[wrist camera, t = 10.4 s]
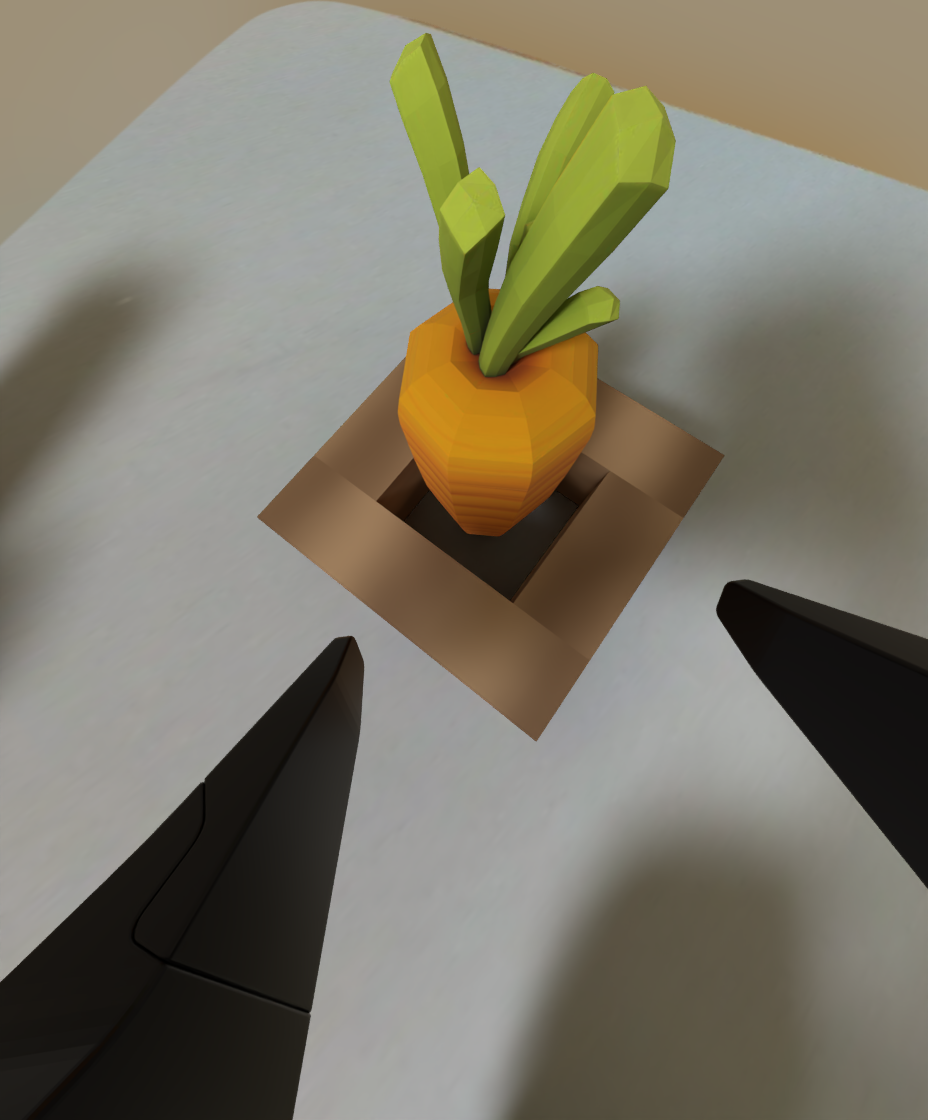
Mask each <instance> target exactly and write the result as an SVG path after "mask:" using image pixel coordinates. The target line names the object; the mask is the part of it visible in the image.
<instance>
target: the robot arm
mask: <svg viewBox="0 0 928 1120" xmlns="http://www.w3.org/2000/svg"><path fill="white" fill-rule="evenodd" d="M716 612H717V616H718V618H719V619H720V621H721V622H722V624H723V626H724V627H725V629H726V630H727V632H728V633H729V635H730V636H731V638H732V639H733V641H734V642H735V644H736V645H737V647H738V648H739V650H740V651H741V653H742V654H743V656H744V657H745V659H746V660H747V662H748V663H749V665H750V666H751V668H752V669H753V671H754V672H755V673H756V675H757V676H758V677H759V679H760V680H761V681H762V683H763V684H764V685H765V686H766V688H767V689H768V690H769V691H770V693H771V694H772V695H773V696H774V698H775V699H776V700H777V701H778V703H779V704H780V705H781V706H782V708H783V709H784V710H785V711H786V713H787V714H788V715H789V716H790V717H791V719H792V720H793V721H794V722H795V724H796V725H797V726H798V727H799V729H800V730H801V731H802V732H803V734H804V735H805V736H806V737H807V739H808V740H809V741H810V742H811V744H812V745H813V746H814V747H815V749H816V750H817V751H818V752H819V754H820V755H821V756H822V757H823V759H824V760H825V761H826V762H827V764H828V765H829V766H830V767H831V769H832V770H833V771H834V772H835V774H836V775H837V776H838V777H839V779H840V780H841V781H842V782H843V784H844V785H845V786H846V787H847V789H848V790H849V791H850V792H851V794H852V795H853V796H854V797H855V799H856V800H857V801H858V802H859V804H860V805H861V806H862V807H863V809H864V810H865V811H866V812H867V814H868V815H869V816H870V817H871V819H872V820H873V821H874V822H875V824H876V825H877V826H878V827H879V829H880V830H881V831H882V832H883V834H884V835H885V836H886V837H887V839H888V840H889V841H890V842H891V844H892V845H893V846H894V847H895V849H896V850H897V851H898V852H899V854H900V855H901V856H902V857H903V859H904V860H905V861H906V862H907V863H908V865H909V866H910V867H911V868H912V870H913V871H914V872H915V873H916V875H917V876H918V877H919V878H920V880H921V881H922V882H923V883H924V885H925V886H926V887H927V888H928V639H926V638H923V637H920V636H917V635H914V634H911V633H908V632H905V631H902V630H899V629H896V628H893V627H890V626H887V625H884V624H881V623H878V622H875V621H872V620H869V619H866V618H863V617H860V616H857V615H854V614H850V613H847V612H844V611H841V610H838V609H835V608H832V607H829V606H826V605H823V604H820V603H817V602H814V601H811V600H808V599H805V598H802V597H799V596H796V595H793V594H790V593H787V592H784V591H781V590H778V589H775V588H772V587H769V586H766V585H763V584H760V583H757V582H754V581H751V580H746V579H744V580H736V581H730V582H728V583H727V584H726V585H725V586H724V589H723V591H722V594H721V597H720V599H719V602H718V604H717V607H716ZM363 680H364V661H363V658H362V655H361V653H360V650H359V647H358V645H357V642H356V640H355V638H354V637H353V636H345V637H338V638H335V639H334V640H333V641H332V642H331V643H330V644H329V645H328V646H327V647H326V648H325V649H324V650H323V651H322V653H321V654H320V655H319V656H318V657H317V658H316V659H315V660H314V661H313V662H312V663H311V664H310V665H309V667H308V668H307V669H306V670H305V671H304V672H303V673H302V674H301V675H300V676H299V677H298V678H297V680H296V681H295V682H294V683H293V684H292V685H291V686H290V687H289V688H288V689H287V690H286V691H285V692H284V694H283V695H282V696H281V697H280V698H279V699H278V700H277V701H276V702H275V703H274V704H273V705H272V706H271V708H270V709H269V710H268V711H267V712H266V713H265V714H264V715H263V716H262V717H261V718H260V719H259V720H258V722H257V723H256V724H255V725H254V726H253V727H252V728H251V729H250V730H249V731H248V732H247V733H246V735H245V736H244V737H243V738H242V739H241V740H240V741H239V742H238V743H237V744H236V745H235V746H234V747H233V749H232V750H231V751H230V752H229V753H228V754H227V755H226V756H225V757H224V758H223V759H222V760H221V761H220V763H219V764H218V765H217V766H216V767H215V768H214V769H213V770H212V771H211V772H210V773H209V774H208V776H207V777H206V778H205V781H204V782H202V783H200V784H199V785H198V786H197V787H196V788H195V789H194V790H193V791H192V793H191V794H190V795H189V796H188V797H187V798H186V799H185V800H184V801H183V802H182V803H181V804H180V805H179V806H178V808H177V809H176V810H175V811H174V812H173V813H172V814H171V815H170V816H169V817H168V818H167V819H166V820H165V821H164V822H163V823H162V824H161V825H160V826H159V827H158V828H157V830H156V831H155V832H154V833H153V834H152V835H151V836H150V837H149V838H148V839H147V840H146V841H145V842H144V843H143V844H142V845H141V846H140V847H139V848H138V849H137V850H136V851H135V852H134V853H133V854H132V855H131V856H130V857H129V858H128V859H127V860H126V861H125V862H124V863H123V864H122V865H121V866H120V867H119V868H118V869H117V870H116V871H115V872H114V873H113V874H112V875H111V876H110V877H109V878H108V879H107V880H106V881H104V882H103V883H102V884H101V885H100V886H99V887H98V888H97V889H96V890H95V891H94V892H93V893H92V894H91V895H90V896H89V897H88V898H87V899H86V900H85V901H84V902H83V903H82V904H81V905H80V906H79V907H78V908H77V909H76V910H75V911H73V912H72V913H71V914H70V915H69V916H68V917H67V918H66V919H65V920H64V921H63V922H62V923H61V924H60V925H59V926H58V927H57V928H56V929H55V930H54V931H53V932H52V933H51V934H50V935H49V936H48V937H47V938H46V939H45V940H44V941H42V942H41V943H40V944H39V945H38V946H37V947H36V948H35V949H34V950H33V951H32V952H31V953H30V954H29V955H28V956H27V957H26V958H25V959H24V960H23V961H22V962H21V963H20V964H19V965H18V966H17V967H16V968H15V969H14V970H13V971H11V972H10V973H9V974H8V975H7V976H6V977H5V978H4V979H3V980H2V981H1V982H0V1120H293V1114H294V1109H295V1103H296V1097H297V1091H298V1086H299V1080H300V1074H301V1069H302V1063H303V1057H304V1051H305V1046H306V1040H307V1034H308V1029H309V1023H310V1017H311V1015H310V1012H311V1009H312V1004H313V999H314V993H315V987H316V981H317V976H318V970H319V964H320V959H321V953H322V947H323V942H324V936H325V930H326V924H327V919H328V913H329V907H330V902H331V896H332V890H333V885H334V879H335V873H336V867H337V862H338V856H339V850H340V845H341V839H342V833H343V827H344V822H345V816H346V810H347V805H348V799H349V793H350V788H351V782H352V776H353V770H354V765H355V759H356V753H357V748H358V742H359V735H360V726H361V712H362V696H363Z"/></svg>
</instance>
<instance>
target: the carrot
mask: <svg viewBox="0 0 928 1120" xmlns="http://www.w3.org/2000/svg"><path fill="white" fill-rule="evenodd" d="M390 85H391V88H392V91H393V94H394V97H395V100H396V103H397V106H398V109H399V112H400V115H401V118H402V121H403V123H404V126H405V129H406V131H407V134H408V137H409V139H410V142H411V145H412V148H413V150H414V153H415V156H416V158H417V161H418V164H419V166H420V169H421V172H422V174H423V177H424V181H425V184H426V187H427V190H428V193H429V196H430V200H431V203H432V206H433V209H434V212H435V216H436V219H437V222H438V225H439V246H440V255H441V264H442V271H443V274H444V277H445V280H446V283H447V286H448V289H449V292H450V294H451V297H452V300H453V303H451V304H450V305H448V306H447V307H445V308H444V309H443V310H441V311H440V312H438V313H437V314H435V315H434V316H432V317H431V318H429V319H428V320H426V321H425V322H424V323H422V324H421V325H419V326H418V327H417V328H415V329H414V330H413V331H411V332H410V337H409V343H408V349H407V355H406V361H405V366H404V372H403V378H402V384H401V390H400V396H399V404H398V417H399V422H400V425H401V427H402V430H403V432H404V435H405V437H406V440H407V442H408V445H409V447H410V450H411V452H412V455H413V457H414V460H415V462H416V464H417V466H418V468H419V470H420V472H421V474H422V477H423V479H424V481H425V483H426V485H427V487H428V488H429V489H430V490H431V492H432V493H433V494H434V495H435V497H436V498H437V499H438V500H439V502H440V503H441V504H442V505H443V506H444V508H445V509H446V510H447V511H448V512H449V513H450V515H451V516H452V517H453V518H454V519H455V521H456V522H457V523H458V524H459V525H460V527H461V528H462V529H463V530H464V531H465V532H466V533H467V534H476V535H487V536H497V537H499V536H501V535H503V534H504V533H506V532H507V531H508V530H509V529H511V528H512V527H513V526H514V525H516V524H517V523H518V522H519V521H521V520H522V519H523V518H524V517H526V516H527V515H528V514H530V513H531V512H532V511H533V510H535V509H536V508H537V507H538V506H539V505H540V504H542V503H543V502H544V501H545V500H546V499H548V498H549V497H550V496H551V494H552V493H553V492H554V490H555V489H556V488H557V486H558V485H559V484H560V482H561V481H562V480H563V478H564V477H565V476H566V474H567V473H568V471H569V470H570V468H571V467H572V465H573V464H574V462H575V461H576V459H577V458H578V456H579V455H580V453H581V452H582V450H583V449H584V447H585V446H586V444H587V443H588V441H589V440H590V438H591V435H592V433H593V430H594V427H595V418H596V393H597V364H598V344H597V343H596V342H595V341H594V340H593V339H592V338H591V337H590V336H589V335H588V334H587V333H585V332H587V331H590V330H592V329H595V328H597V327H600V326H602V325H605V324H607V323H609V322H612V321H614V320H617V319H618V318H619V305H620V301H619V299H618V298H617V297H616V296H615V295H614V294H613V293H612V292H611V291H610V290H609V289H608V288H604V287H600V286H596V287H593V288H590V289H587V290H584V291H581V292H579V293H577V294H575V295H573V296H571V297H570V298H568V297H569V296H570V295H571V294H572V293H573V292H574V291H575V290H576V289H577V288H578V287H579V286H580V285H581V284H582V283H583V282H584V281H585V280H586V279H587V278H588V277H589V276H590V275H591V274H592V273H593V271H594V270H595V269H596V268H597V267H598V266H599V265H600V264H601V263H602V262H603V261H604V260H605V259H606V258H607V257H608V256H609V255H610V254H611V253H612V252H613V251H614V250H615V249H616V248H617V246H618V245H619V244H620V243H621V242H622V241H623V240H624V238H625V237H626V236H627V235H628V234H629V233H630V232H631V230H632V229H633V228H634V227H635V226H636V225H637V224H638V222H639V221H640V220H641V219H642V218H643V217H644V216H645V215H646V213H647V212H648V211H649V210H650V209H651V208H652V207H653V205H654V204H655V203H656V202H657V201H658V200H659V199H660V197H661V196H662V195H663V194H664V193H665V192H666V191H667V190H668V187H669V181H670V175H671V168H672V162H673V155H674V149H675V142H676V140H675V137H674V134H673V131H672V128H671V125H670V122H669V119H668V116H667V113H666V110H665V107H664V106H663V105H662V104H661V102H660V101H659V100H658V99H657V98H656V97H655V96H654V95H653V93H652V92H651V91H650V90H649V89H648V88H647V86H644V87H640V88H636V89H632V90H628V91H625V92H621V93H617V94H614V91H613V89H612V87H611V85H610V83H609V82H608V80H607V78H604V77H602V76H599V75H597V74H594V73H592V74H590V75H588V76H586V77H585V78H583V79H582V80H581V81H580V82H579V83H578V84H577V86H576V87H575V88H574V89H573V90H572V92H571V93H570V95H569V96H568V98H567V100H566V102H565V103H564V105H563V107H562V108H561V110H560V112H559V113H558V115H557V117H556V119H555V121H554V123H553V125H552V127H551V129H550V131H549V133H548V135H547V138H546V140H545V142H544V144H543V146H542V148H541V150H540V152H539V155H538V157H537V160H536V163H535V166H534V169H533V172H532V175H531V178H530V181H529V184H528V186H527V189H526V192H525V195H524V198H523V201H522V204H521V208H520V211H519V215H518V218H517V221H516V225H515V228H514V231H513V235H512V238H511V242H510V247H509V254H508V261H507V268H506V275H505V279H504V282H503V284H502V287H501V289H489V277H490V274H491V270H492V267H493V263H494V260H495V256H496V252H497V249H498V244H499V240H500V236H501V231H502V227H503V222H504V218H505V213H504V210H503V207H502V204H501V201H500V198H499V195H498V192H497V189H496V186H495V184H494V183H493V182H492V181H491V180H490V179H489V177H488V176H487V175H486V174H485V173H484V172H483V171H482V170H481V168H480V167H479V168H477V169H476V170H475V171H473V172H472V173H470V174H469V170H468V164H467V159H466V153H465V147H464V141H463V138H462V134H461V130H460V126H459V122H458V119H457V115H456V111H455V107H454V103H453V100H452V96H451V92H450V88H449V84H448V81H447V77H446V74H445V72H444V69H443V66H442V64H441V61H440V58H439V55H438V53H437V50H436V47H435V44H434V42H433V39H432V36H431V34H428V33H425V34H423V35H422V36H420V37H418V38H417V39H415V40H414V41H412V42H410V43H409V44H407V45H405V48H404V50H403V52H402V54H401V56H400V58H399V60H398V62H397V65H396V67H395V69H394V71H393V73H392V76H391V79H390ZM567 298H568V299H567Z"/></svg>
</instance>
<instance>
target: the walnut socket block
mask: <svg viewBox="0 0 928 1120" xmlns="http://www.w3.org/2000/svg"><path fill="white" fill-rule="evenodd" d="M405 361H406V357H405V358H404V359H403V360H402V361H401V362H400V363H399V365H398V366H397V367H396V368H395V369H394V370H393V371H392V372H391V373H390V374H389V375H388V376H387V377H386V379H385V380H384V381H383V382H382V383H381V384H380V385H379V386H378V387H377V388H376V389H375V390H374V391H373V393H372V394H371V395H370V396H369V397H368V398H367V399H366V400H365V401H364V402H363V403H362V404H361V405H360V407H359V408H358V409H357V410H356V411H355V412H354V413H353V414H352V415H351V416H350V417H349V418H348V419H347V421H346V422H345V423H344V424H343V425H342V426H341V427H340V428H339V429H338V430H337V431H336V432H335V433H334V435H333V436H332V437H331V438H330V439H329V440H328V441H327V442H326V443H325V444H324V445H323V446H322V447H321V449H320V450H319V451H318V452H317V453H316V454H315V455H314V456H313V457H312V458H311V459H310V460H309V461H308V463H307V464H306V465H305V466H304V467H303V468H302V469H301V470H300V471H299V472H298V473H297V474H296V475H295V477H294V478H293V479H292V480H291V481H290V482H289V483H288V484H287V485H286V486H285V487H284V488H283V489H282V491H281V492H280V493H279V494H278V495H277V496H276V497H275V498H274V499H273V500H272V501H271V502H270V503H269V505H268V506H267V507H266V508H265V509H264V510H263V511H262V512H261V513H260V514H259V515H258V516H257V518H259V519H260V520H261V521H262V522H264V523H265V524H266V525H267V526H269V527H270V528H271V529H272V530H274V531H275V532H276V533H277V534H278V535H280V536H281V537H282V538H283V539H285V540H286V541H287V542H288V543H290V544H291V545H292V546H293V547H295V548H296V549H297V550H298V551H300V552H301V553H302V554H303V555H305V556H306V557H307V558H308V559H310V560H311V561H312V562H313V563H315V564H316V565H317V566H318V567H320V568H321V569H322V570H323V571H325V572H326V573H327V574H328V575H330V576H331V577H332V578H333V579H334V580H336V581H337V582H338V583H339V584H341V585H342V586H343V587H344V588H346V589H347V590H348V591H349V592H351V593H352V594H353V595H354V596H356V597H357V598H358V599H359V600H361V601H362V602H363V603H364V604H366V605H367V606H368V607H369V608H371V609H372V610H373V611H374V612H376V613H377V614H378V615H379V616H381V617H382V618H383V619H384V620H386V621H387V622H388V623H389V624H390V625H392V626H393V627H394V628H395V629H397V630H398V631H399V632H400V633H402V634H403V635H404V636H405V637H407V638H408V639H409V640H410V641H412V642H413V643H414V644H415V645H417V646H418V647H419V648H420V649H422V650H423V651H424V652H425V653H427V654H428V655H429V656H430V657H432V658H433V659H434V660H435V661H437V662H438V663H439V664H440V665H442V666H443V667H444V668H445V669H446V670H448V671H449V672H450V673H451V674H453V675H454V676H455V677H456V678H458V679H459V680H460V681H461V682H463V683H464V684H465V685H466V686H468V687H469V688H470V689H471V690H473V691H474V692H475V693H476V694H478V695H479V696H480V697H481V698H483V699H484V700H485V701H486V702H488V703H489V704H490V705H491V706H493V707H494V708H495V709H496V710H498V711H499V712H500V713H501V714H502V715H504V716H505V717H506V718H507V719H509V720H510V721H511V722H512V723H514V724H515V725H516V726H517V727H519V728H520V729H521V730H522V731H524V732H525V733H526V734H527V735H529V736H530V737H531V738H532V739H534V740H535V741H537V740H538V738H539V737H540V735H541V734H542V732H543V731H544V729H545V728H546V726H547V725H548V723H549V722H550V720H551V719H552V717H553V715H554V714H555V712H556V711H557V709H558V708H559V706H560V705H561V703H562V702H563V700H564V699H565V697H566V696H567V694H568V693H569V691H570V690H571V688H572V687H573V685H574V684H575V682H576V681H577V679H578V677H579V676H580V674H581V673H582V671H583V670H584V668H585V667H586V665H587V664H588V662H589V661H590V659H591V658H592V656H593V655H594V653H595V652H596V650H597V649H598V647H599V646H600V644H601V643H602V641H603V639H604V638H605V636H606V635H607V633H608V632H609V630H610V629H611V627H612V626H613V624H614V623H615V621H616V620H617V618H618V617H619V615H620V614H621V612H622V611H623V609H624V608H625V606H626V605H627V603H628V602H629V600H630V598H631V597H632V595H633V594H634V592H635V591H636V589H637V588H638V586H639V585H640V583H641V582H642V580H643V579H644V577H645V576H646V574H647V573H648V571H649V570H650V568H651V567H652V565H653V564H654V562H655V560H656V559H657V557H658V556H659V554H660V553H661V551H662V550H663V548H664V547H665V545H666V544H667V542H668V541H669V539H670V538H671V536H672V535H673V533H674V532H675V530H676V529H677V527H678V526H679V524H680V522H681V521H682V519H683V518H684V516H685V515H686V513H687V512H688V510H689V509H690V507H691V506H692V504H693V503H694V501H695V500H696V498H697V497H698V495H699V494H700V492H701V491H702V489H703V488H704V486H705V484H706V483H707V481H708V480H709V478H710V477H711V475H712V474H713V472H714V471H715V469H716V468H717V466H718V465H719V463H720V462H721V460H722V459H723V457H724V456H725V455H723V454H721V453H720V452H718V451H716V450H715V449H713V448H712V447H710V446H708V445H707V444H705V443H703V442H702V441H700V440H698V439H697V438H695V437H693V436H692V435H690V434H688V433H687V432H685V431H684V430H682V429H680V428H679V427H677V426H675V425H674V424H672V423H670V422H669V421H667V420H665V419H664V418H662V417H660V416H659V415H657V414H655V413H654V412H652V411H651V410H649V409H647V408H646V407H644V406H642V405H641V404H639V403H637V402H636V401H634V400H632V399H631V398H629V397H627V396H626V395H624V394H622V393H621V392H619V391H618V390H616V389H614V388H613V387H611V386H609V385H608V384H606V383H604V382H603V381H601V380H599V379H598V378H597V393H596V418H595V427H594V430H593V433H592V435H591V438H590V440H589V441H588V443H587V444H586V446H585V447H584V449H583V450H582V452H581V453H580V455H579V456H578V458H577V459H576V461H575V462H574V464H573V465H572V467H571V468H570V470H569V471H568V473H567V474H566V476H565V477H564V478H563V480H562V481H561V482H560V484H559V485H558V486H557V488H556V489H555V490H557V491H558V492H560V493H561V494H563V495H564V496H566V497H567V498H569V499H570V500H572V501H573V502H575V503H576V504H578V505H579V507H578V508H577V509H576V511H575V512H574V514H573V515H572V516H571V518H570V519H569V520H568V522H567V523H566V524H565V526H564V527H563V529H562V530H561V531H560V533H559V534H558V535H557V537H556V538H555V540H554V541H553V542H552V544H551V545H550V546H549V548H548V549H547V551H546V552H545V553H544V555H543V556H542V557H541V559H540V560H539V561H538V563H537V564H536V566H535V567H534V568H533V570H532V571H531V572H530V574H529V575H528V577H527V578H526V579H525V581H524V582H523V583H522V585H521V586H520V588H519V589H518V590H517V592H516V593H515V594H514V596H513V597H512V598H511V600H510V601H509V600H508V599H507V598H505V597H504V596H502V595H501V594H500V593H498V592H497V591H496V590H494V589H493V588H492V587H490V586H489V585H488V584H486V583H485V582H484V581H482V580H481V579H480V578H478V577H477V576H476V575H474V574H473V573H472V572H470V571H469V570H468V569H466V568H465V567H463V566H462V565H461V564H459V563H458V562H457V561H455V560H454V559H453V558H451V557H450V556H449V555H447V554H446V553H445V552H443V551H442V550H441V549H439V548H438V547H437V546H435V545H434V544H433V543H431V542H430V541H429V540H427V539H426V538H425V537H423V536H422V535H420V534H419V533H418V532H416V531H415V530H414V529H412V528H411V527H410V526H408V525H407V524H406V523H404V522H403V521H404V520H405V519H406V517H407V516H408V515H409V514H410V513H411V511H412V510H413V509H414V508H415V507H416V505H417V504H418V503H419V502H420V501H421V499H422V498H423V497H424V496H425V495H426V493H427V492H428V491H429V490H430V489H429V488H428V487H427V485H426V483H425V481H424V479H423V477H422V474H421V472H420V470H419V468H418V466H417V464H416V462H415V460H414V457H413V455H412V452H411V450H410V447H409V445H408V442H407V440H406V437H405V435H404V432H403V430H402V427H401V425H400V422H399V417H398V404H399V396H400V390H401V384H402V378H403V372H404V366H405Z"/></svg>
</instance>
